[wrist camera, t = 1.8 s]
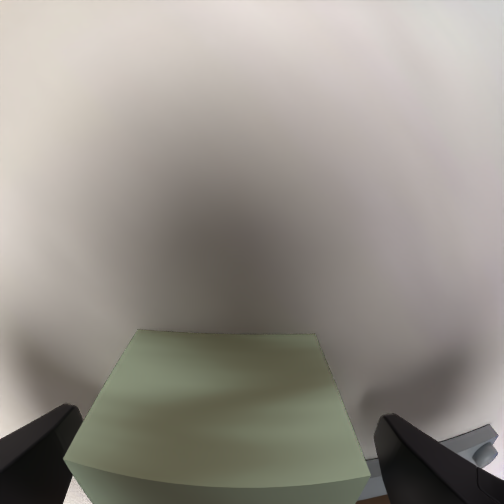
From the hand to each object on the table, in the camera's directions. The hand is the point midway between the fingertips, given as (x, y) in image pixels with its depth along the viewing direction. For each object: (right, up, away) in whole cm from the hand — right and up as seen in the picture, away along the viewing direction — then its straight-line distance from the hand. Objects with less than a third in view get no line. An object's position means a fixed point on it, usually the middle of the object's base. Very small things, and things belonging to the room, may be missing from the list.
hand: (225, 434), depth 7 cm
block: (0, 0, +2) cm, 2 cm away
